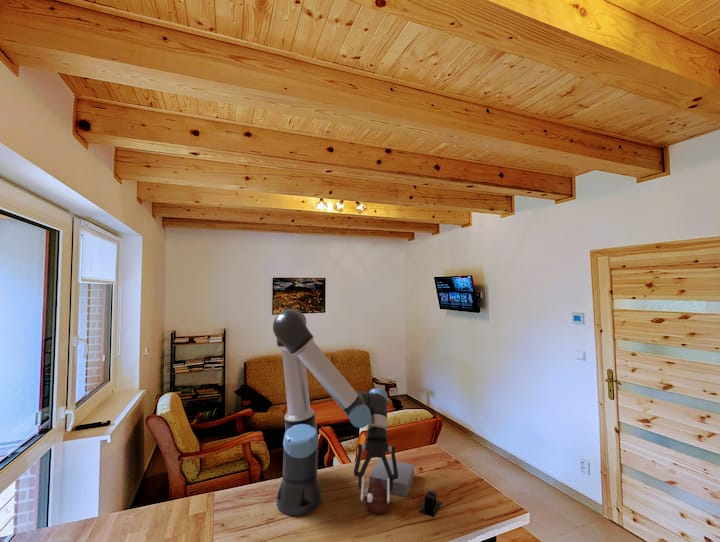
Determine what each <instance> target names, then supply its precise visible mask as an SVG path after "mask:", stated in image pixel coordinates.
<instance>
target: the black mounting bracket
mask: <svg viewBox="0 0 720 542" xmlns="http://www.w3.org/2000/svg"><path fill="white" fill-rule="evenodd" d="M437 498H438V497H437V493H436V492H434V491H431V490H427V491H426V493H425V496H424V501H423V503H422V504H421V506H420V508H419V510H418V511H417V512H418V513H420V514H422V515H425V516H428V517H431V518H435V517H436V515H437V514H438V511H439V510H440V507H441V506H442V503H443V501H441V500H439V499H437Z"/></svg>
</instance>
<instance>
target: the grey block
mask: <svg viewBox="0 0 720 542" xmlns="http://www.w3.org/2000/svg"><path fill="white" fill-rule="evenodd" d="M387 462H388V464H389V467H390V470H391V472H392V474H394V471H393V464H392V459H391V460H390V459H387ZM396 464H397V470H398V478H397V479H394V480H393V491H389V494H390V493H391V494H394V495H399V496H403V497H408V495H409V492H410V488H411V486H412V483H413V480H414V478H415V464H411V463H405V462H400V461H396ZM376 478H379V479H380V480H381V482H382V484H383V485H384V486H385V489H386V491H387V478H389V477H388V474H387V472H386V469H385V466H384V463H383V461H382V458H379V459H378V461H377V463H376V464H375V466H374V467H373V469H372V472H371V473H370V475H369V479H368V480H369V481H368V483H369V486H370V485H371V483H372V482H373V480H374V479H376ZM369 486H368V487H369Z"/></svg>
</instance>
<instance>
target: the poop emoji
mask: <svg viewBox="0 0 720 542" xmlns="http://www.w3.org/2000/svg"><path fill="white" fill-rule="evenodd" d="M363 502H364V504H365V505H366V507H367V509H368V511H370V512H371V513H372V514H375V515H382V514H385V513H386V512H388V511H389V509H390V506H391V501H390V499H389V504H388V503H387V491H386V489H385V486H384V485H383V484H382V482H381V480H380V479H379V478H376V479H374V480H373V482H372V483H371V485H370V486H368V487H364V497H363Z"/></svg>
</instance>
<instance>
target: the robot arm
mask: <svg viewBox="0 0 720 542" xmlns="http://www.w3.org/2000/svg"><path fill="white" fill-rule="evenodd" d="M272 323H273V324H272V332H273V335H274V336H275V338H276V344H277V345H276V346H277V347H278V348H279V349H280V350H281V353H282V354H281V355H282V356H281V357H282V364H283V374H284V375H283V376H284V384H285V385H284V386H285V395H286V397H285V398H286V407H287V412H286V413H285V415H284V428H285V432H284V435H283V441H282V447H283V455H282V457H283V459H282V480H281V483H280V484H279V487H278V491H277V494H276V507H277V509H278V510H279V512H281V513H282V514H285V515H288V516H295V517H297V516H305V515H307V514H309V513H312V512H314V511H315V510H317V509H318V507H320V505H321V503H322V497H323V496H322V494H323V493H322V489H321V485H320V482H319V478H318V453H319V449H318V446H319V436H318V425H317V422H316V420H317V419H316V414H315V409H314V408H311V402H310V392H309V383H308V373H307V372H308V370H309V372H310V373H311V374H312V375H313V376H314V378H315V379H316V380H317V381H318V383H319V384H320V385H321V386H322V388H323V389H324V390H325V391H326V392H327V393H328V394H329V395H330V396H331V398H332V399H333V400H334V401H335V403H336V404H337V405H338V407H339V409H340V408H341V410H342V411H343V412H344V414H345V415H346V416H347V417H348V419H349V421H350V423H351V425H352V426H353V427H355V428H356V429H357V428H358V429H363V428H365V427H367V431H366V442H365V444H361V443H358V445H357V449H358V451H357V456H356V460H355V465H354V470H353V475H354V477H356V478H358V479H357V480H358V483H357V486H358V487H357V488H358V489H359V490H360V502H364V498H365V496H364V489H365V476H364V475H365V473H366V471H367V468H368V466H369V464H370V462H371V460H372V458H379V459H380V458H381V459H382V461H383V463H384V466H385V469H386V472H387V474H388V477H389V478H387V503H388V504H389V500H390V492H389V491H393V480H394V479H397V478H398V470H397V464H396V462H397V458H396V446H395V445H389V444H388V404H389V399H388V398H389V397H388V392H387V391H386V390H385V389H383V388H378V387H377V388H376V387H375V388H372V389H370V390H369V392H365V391H360V390H356V389H354V388H353V387H352V385H351V384H350V383H349V382H348V381H347V380H346V378H345V377H344V376H343V375H342V374H341V372H340V371H339V369H338V368H337V367H336V366H335V365H334V363H333V362H331V359H329V357H328V356H327V355H326V354H325V353H324V352H323V350H322V349H321V348H320V347H319V346H318V344H317V343H316V342H315V341H314V339H315V338H314V335H313V334H312V333H311V331H310V329H309V328H308V327H307V319H306V316H305V315H304V313H303V312H302V311H301V310H299V309H296V308H287V309H286V308H285V309H284V310H282V311H281V312H279V314H278V315H277V316H276V317H275V318H274V321H273V322H272ZM365 449H366V451H367V454H366V455H367V456H366V458H365V460H364V462H363V464H362V466H361V465H360V464H361V460H362V456H363V452H364V451H365ZM388 451H389V454H391V455H390V457H391V461H392V464H393V471H394V474H392V472H391V470H390V467H389V464H388V462H387V460H388V459H387V455H386V453H387V452H388ZM360 466H361V468H360ZM359 468H360V469H359Z"/></svg>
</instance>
